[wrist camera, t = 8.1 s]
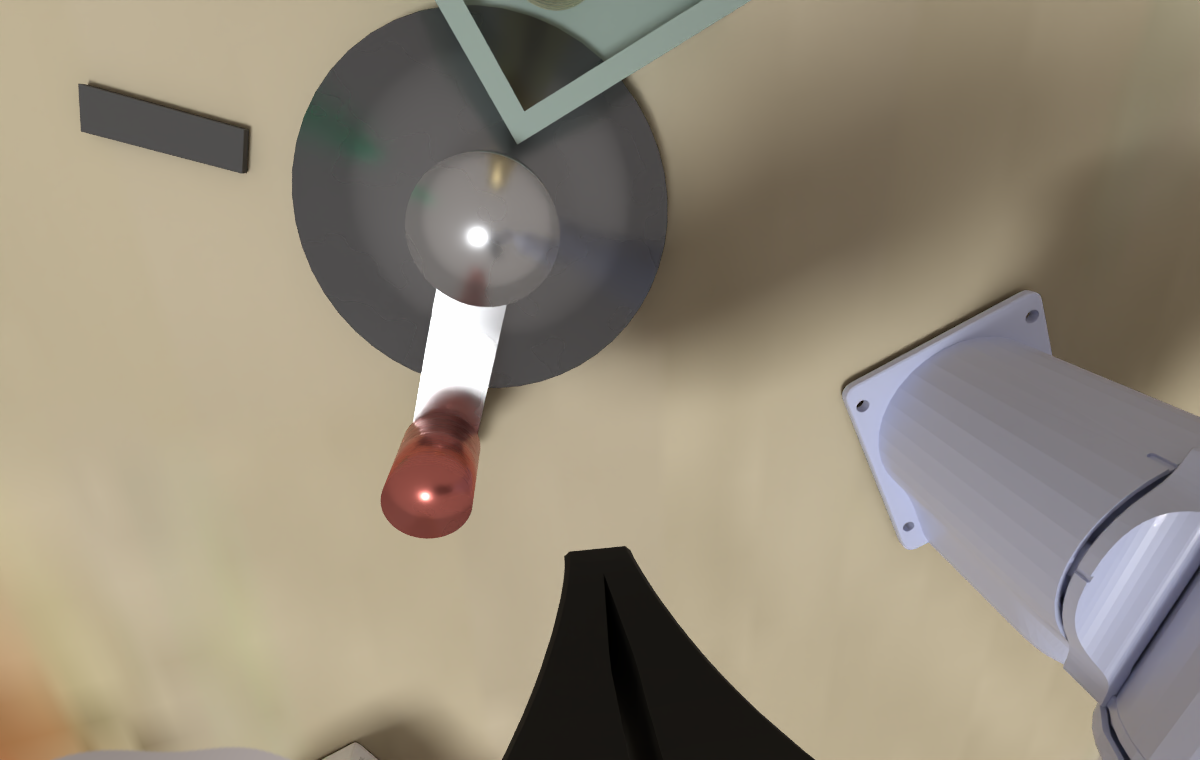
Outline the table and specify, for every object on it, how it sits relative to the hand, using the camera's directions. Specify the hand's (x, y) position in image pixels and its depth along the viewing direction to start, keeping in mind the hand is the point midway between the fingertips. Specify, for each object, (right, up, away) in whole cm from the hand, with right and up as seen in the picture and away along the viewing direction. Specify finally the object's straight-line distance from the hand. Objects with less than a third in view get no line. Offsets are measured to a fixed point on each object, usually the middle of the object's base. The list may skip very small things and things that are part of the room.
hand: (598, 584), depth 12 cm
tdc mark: (-12, +11, +4) cm, 17 cm away
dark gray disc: (-3, +10, +6) cm, 12 cm away
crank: (-4, +6, +6) cm, 9 cm away
